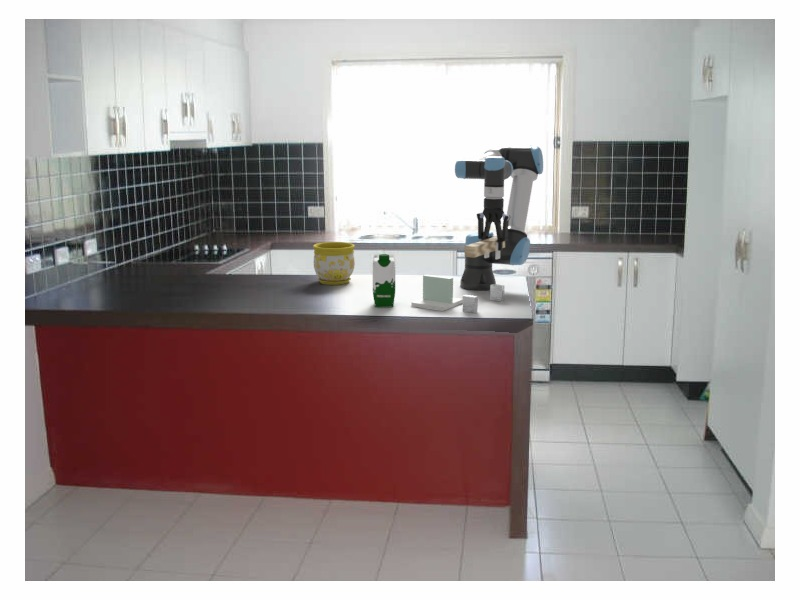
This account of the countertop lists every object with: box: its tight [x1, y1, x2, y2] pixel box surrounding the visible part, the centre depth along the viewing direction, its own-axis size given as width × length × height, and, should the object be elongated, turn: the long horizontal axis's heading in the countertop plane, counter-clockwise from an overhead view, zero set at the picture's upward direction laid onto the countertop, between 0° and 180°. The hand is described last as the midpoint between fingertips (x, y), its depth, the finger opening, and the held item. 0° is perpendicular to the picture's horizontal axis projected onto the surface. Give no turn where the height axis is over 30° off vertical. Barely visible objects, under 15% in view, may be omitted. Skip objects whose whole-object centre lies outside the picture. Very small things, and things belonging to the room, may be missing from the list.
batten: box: [464, 235, 505, 258], centre depth 314 cm, size 26×4×4 cm, turn 147°
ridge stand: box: [411, 274, 463, 312], centre depth 320 cm, size 16×14×11 cm
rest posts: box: [462, 283, 505, 314], centre depth 318 cm, size 25×5×6 cm, turn 147°
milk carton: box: [372, 253, 396, 308], centre depth 318 cm, size 9×9×20 cm
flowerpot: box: [312, 241, 356, 286], centre depth 360 cm, size 18×18×16 cm
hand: (492, 258), depth 320 cm, fingers closed on batten, 4 cm apart
